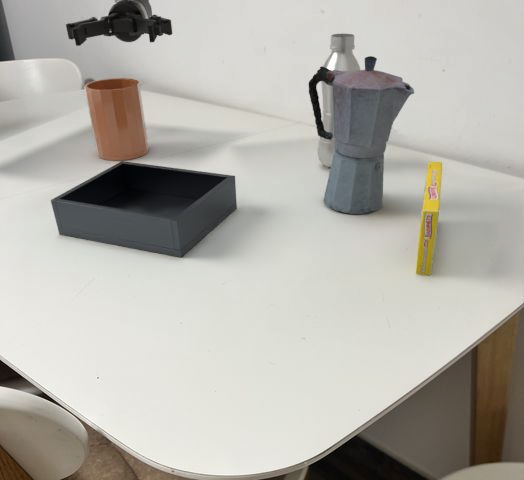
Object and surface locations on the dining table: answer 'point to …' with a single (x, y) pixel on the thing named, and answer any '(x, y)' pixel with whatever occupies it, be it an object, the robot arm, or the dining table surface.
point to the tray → (146, 207)
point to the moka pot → (359, 133)
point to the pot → (117, 118)
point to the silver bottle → (339, 61)
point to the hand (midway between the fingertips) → (113, 35)
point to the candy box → (429, 219)
